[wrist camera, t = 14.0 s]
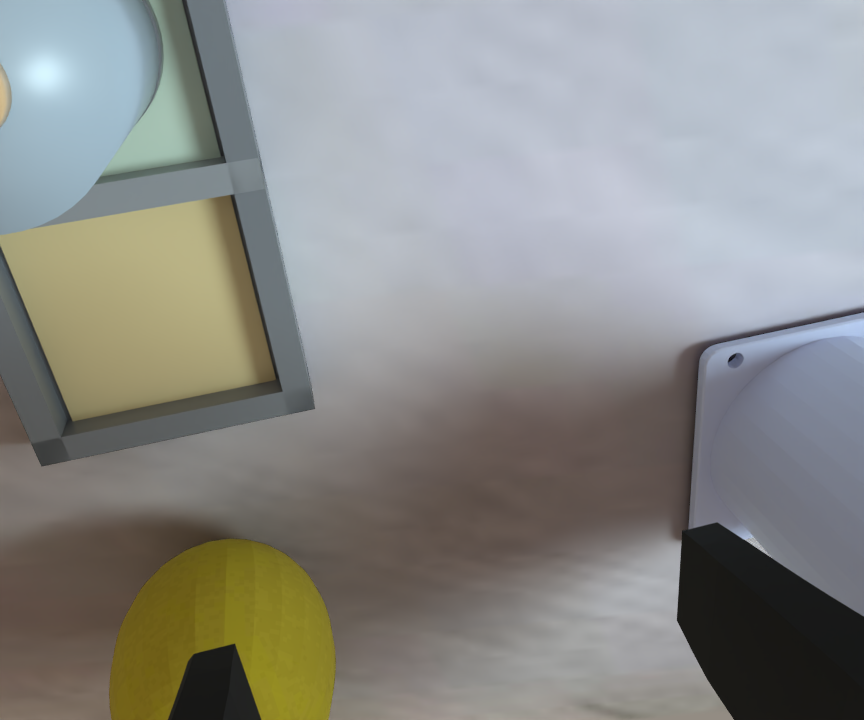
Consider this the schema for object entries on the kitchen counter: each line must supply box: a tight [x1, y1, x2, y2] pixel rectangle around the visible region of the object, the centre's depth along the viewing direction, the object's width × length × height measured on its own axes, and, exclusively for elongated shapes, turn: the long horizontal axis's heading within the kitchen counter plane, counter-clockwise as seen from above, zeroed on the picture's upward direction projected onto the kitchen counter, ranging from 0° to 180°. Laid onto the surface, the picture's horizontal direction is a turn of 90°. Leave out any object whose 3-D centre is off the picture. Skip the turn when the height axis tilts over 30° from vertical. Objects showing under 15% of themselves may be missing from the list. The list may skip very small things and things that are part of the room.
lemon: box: [109, 539, 336, 720], centre depth 19 cm, size 6×6×8 cm
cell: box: [0, 0, 164, 235], centre depth 12 cm, size 4×4×7 cm
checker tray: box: [0, 0, 315, 466], centre depth 17 cm, size 7×12×1 cm, turn 7°
